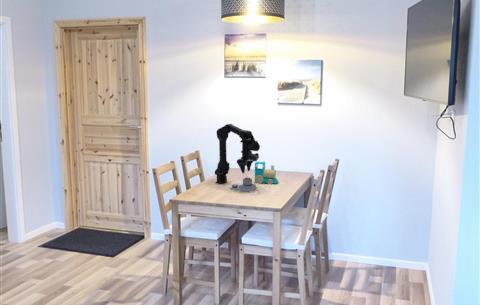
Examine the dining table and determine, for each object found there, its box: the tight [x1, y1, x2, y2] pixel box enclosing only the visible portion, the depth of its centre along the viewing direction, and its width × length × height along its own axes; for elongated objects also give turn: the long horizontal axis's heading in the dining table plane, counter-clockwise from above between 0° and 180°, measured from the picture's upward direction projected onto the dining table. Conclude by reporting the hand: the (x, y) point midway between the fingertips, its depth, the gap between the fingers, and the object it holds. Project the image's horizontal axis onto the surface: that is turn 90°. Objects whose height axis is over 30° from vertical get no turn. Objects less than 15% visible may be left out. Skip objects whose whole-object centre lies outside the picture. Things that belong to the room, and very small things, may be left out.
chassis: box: [229, 183, 257, 193], centre depth 319 cm, size 15×11×3 cm
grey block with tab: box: [242, 176, 253, 186], centre depth 318 cm, size 5×4×7 cm
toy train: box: [254, 161, 280, 185], centre depth 338 cm, size 8×17×15 cm, turn 76°
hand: (246, 172), depth 318 cm, fingers open, 9 cm apart
